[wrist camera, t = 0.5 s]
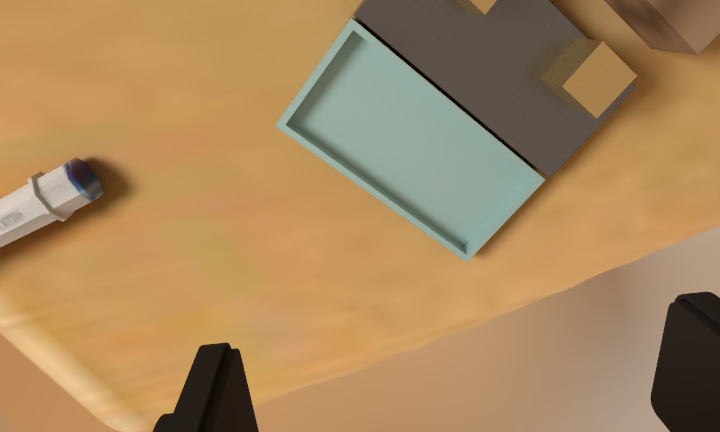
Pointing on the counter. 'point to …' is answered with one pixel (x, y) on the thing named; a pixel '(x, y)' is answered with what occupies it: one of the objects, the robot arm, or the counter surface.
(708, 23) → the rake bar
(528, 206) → the counter surface
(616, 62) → the brass block
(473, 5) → the brass block
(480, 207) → the teal tray
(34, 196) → the white long cylinder
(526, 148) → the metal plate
